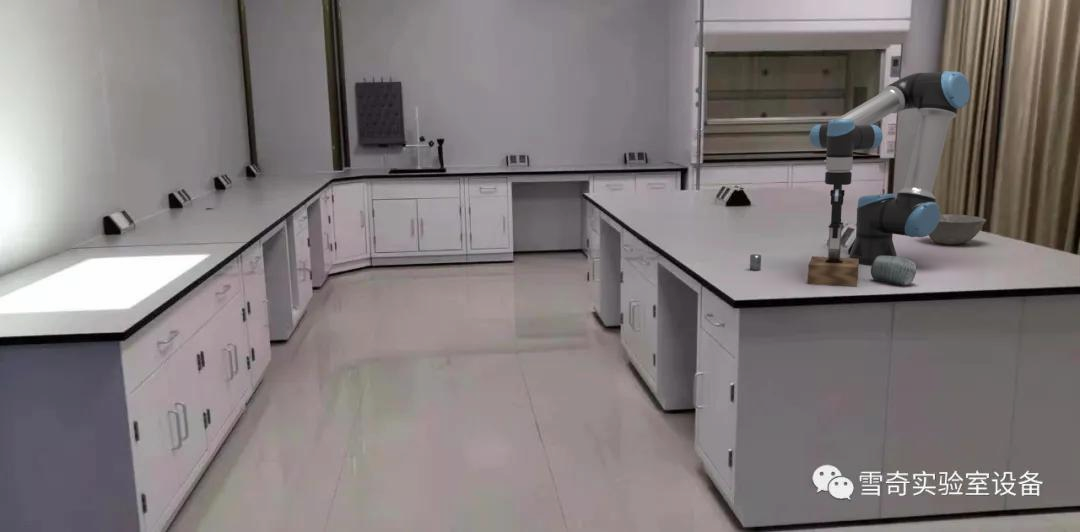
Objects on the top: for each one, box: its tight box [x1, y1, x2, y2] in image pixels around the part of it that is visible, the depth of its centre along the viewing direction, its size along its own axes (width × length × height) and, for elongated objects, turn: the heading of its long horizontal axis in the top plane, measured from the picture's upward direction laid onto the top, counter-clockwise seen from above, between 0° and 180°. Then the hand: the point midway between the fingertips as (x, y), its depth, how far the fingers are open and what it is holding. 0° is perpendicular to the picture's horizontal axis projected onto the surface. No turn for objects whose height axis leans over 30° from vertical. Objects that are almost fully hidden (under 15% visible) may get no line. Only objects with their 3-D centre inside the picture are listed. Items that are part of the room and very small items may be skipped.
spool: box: [870, 256, 917, 286], centre depth 248 cm, size 14×10×10 cm
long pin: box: [827, 224, 843, 263], centre depth 251 cm, size 4×4×14 cm
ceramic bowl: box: [928, 213, 987, 245], centre depth 311 cm, size 22×23×10 cm
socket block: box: [807, 256, 860, 287], centre depth 252 cm, size 14×14×6 cm
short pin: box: [749, 253, 762, 272], centre depth 271 cm, size 4×4×5 cm
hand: (834, 247), depth 251 cm, fingers closed on long pin, 3 cm apart
